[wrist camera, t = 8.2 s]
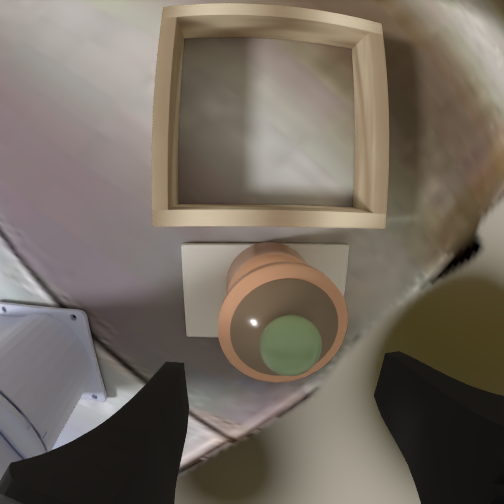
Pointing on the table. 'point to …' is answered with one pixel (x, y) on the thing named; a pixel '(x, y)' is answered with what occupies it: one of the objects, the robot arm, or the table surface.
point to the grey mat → (216, 268)
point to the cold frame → (287, 28)
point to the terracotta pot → (279, 315)
